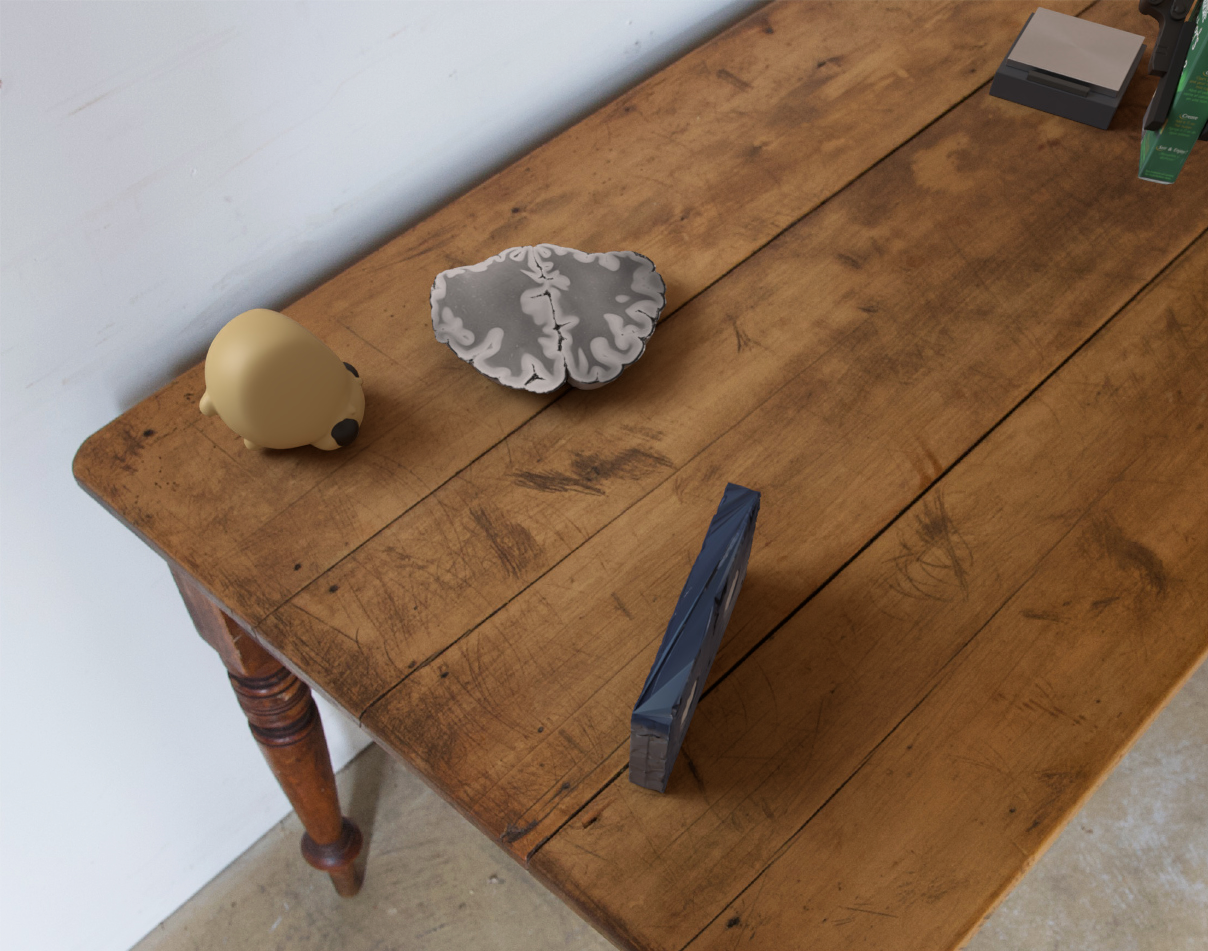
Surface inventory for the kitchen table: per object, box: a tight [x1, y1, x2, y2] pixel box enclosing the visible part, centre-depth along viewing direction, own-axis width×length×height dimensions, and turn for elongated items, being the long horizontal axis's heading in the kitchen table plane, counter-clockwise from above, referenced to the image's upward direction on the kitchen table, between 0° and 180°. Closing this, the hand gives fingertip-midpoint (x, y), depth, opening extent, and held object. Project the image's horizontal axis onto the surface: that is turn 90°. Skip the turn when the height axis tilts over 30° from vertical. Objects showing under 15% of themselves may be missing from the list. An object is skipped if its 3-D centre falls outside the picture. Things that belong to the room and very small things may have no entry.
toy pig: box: [199, 307, 366, 452], centre depth 84 cm, size 10×12×11 cm
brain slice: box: [428, 242, 667, 394], centre depth 92 cm, size 20×17×3 cm
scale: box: [988, 6, 1148, 131], centre depth 112 cm, size 12×12×3 cm
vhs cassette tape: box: [628, 482, 762, 794], centre depth 72 cm, size 18×3×10 cm, turn 157°
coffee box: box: [1137, 0, 1208, 185], centre depth 78 cm, size 8×3×13 cm, turn 163°
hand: (1180, 130), depth 78 cm, fingers closed on coffee box, 3 cm apart
